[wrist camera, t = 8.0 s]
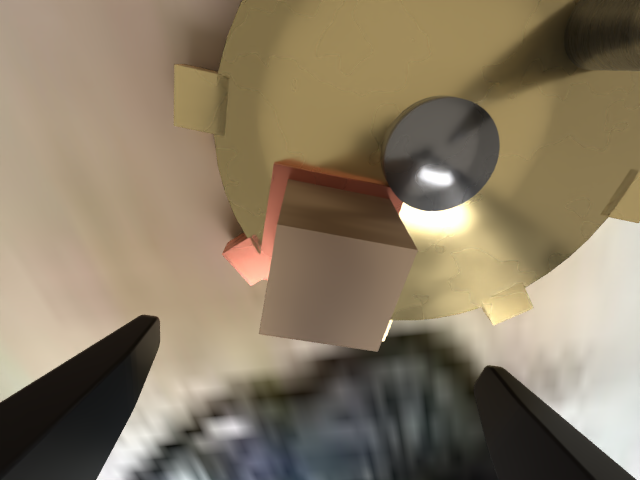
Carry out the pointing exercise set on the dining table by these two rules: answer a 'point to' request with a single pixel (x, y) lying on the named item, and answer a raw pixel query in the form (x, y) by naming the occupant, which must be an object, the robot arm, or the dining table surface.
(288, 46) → the sprocket
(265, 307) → the block
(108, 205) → the dining table surface
